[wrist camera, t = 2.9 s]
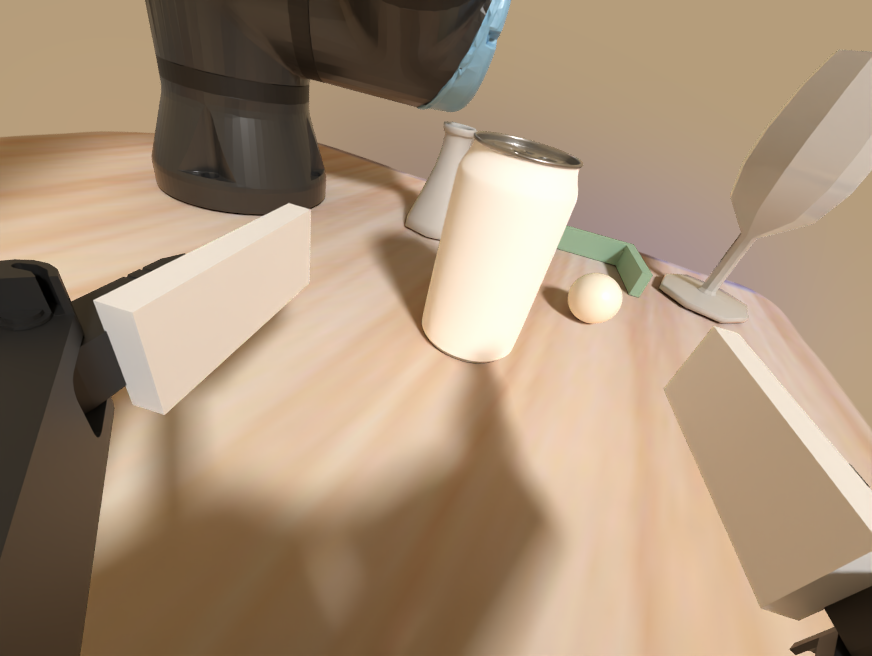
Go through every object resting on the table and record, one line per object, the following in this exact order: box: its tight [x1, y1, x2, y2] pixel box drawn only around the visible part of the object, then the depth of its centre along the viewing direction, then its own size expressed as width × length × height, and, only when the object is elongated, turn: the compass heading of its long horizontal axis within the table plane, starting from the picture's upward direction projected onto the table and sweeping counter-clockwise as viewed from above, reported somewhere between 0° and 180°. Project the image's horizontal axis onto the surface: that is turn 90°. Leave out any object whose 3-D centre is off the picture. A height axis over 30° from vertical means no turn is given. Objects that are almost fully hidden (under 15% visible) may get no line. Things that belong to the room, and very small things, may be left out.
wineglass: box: [659, 50, 872, 323], centre depth 33 cm, size 9×9×21 cm
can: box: [422, 131, 583, 363], centre depth 22 cm, size 6×6×12 cm
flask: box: [405, 122, 477, 240], centre depth 37 cm, size 7×7×10 cm
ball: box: [568, 273, 622, 324], centre depth 30 cm, size 4×4×4 cm
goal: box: [557, 225, 653, 297], centre depth 39 cm, size 8×13×2 cm, turn 78°
